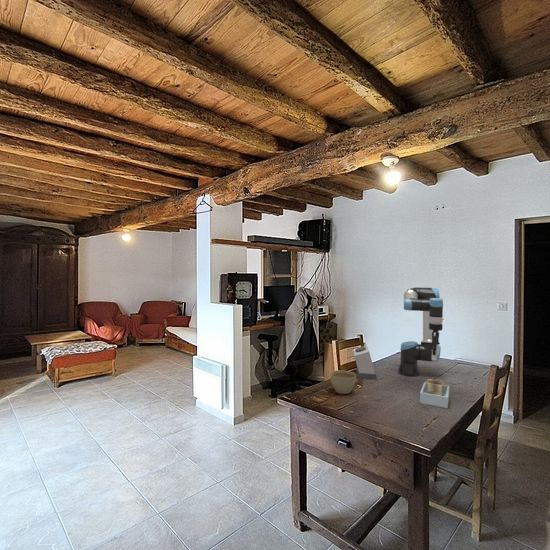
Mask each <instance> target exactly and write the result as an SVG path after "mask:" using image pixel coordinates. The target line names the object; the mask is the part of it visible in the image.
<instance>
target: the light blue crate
mask: <svg viewBox="0 0 550 550" xmlns="http://www.w3.org/2000/svg"><path fill="white" fill-rule="evenodd" d="M426 382H427V381H424V382H423V384H422V388H421V389H420V393H419V404H423V405H428V406H433V407H438V408H443V409H444V408H445V409H448V407H449V399H450V385H447V384H444V396H440V395H434V394H428V393H426Z"/></svg>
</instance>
